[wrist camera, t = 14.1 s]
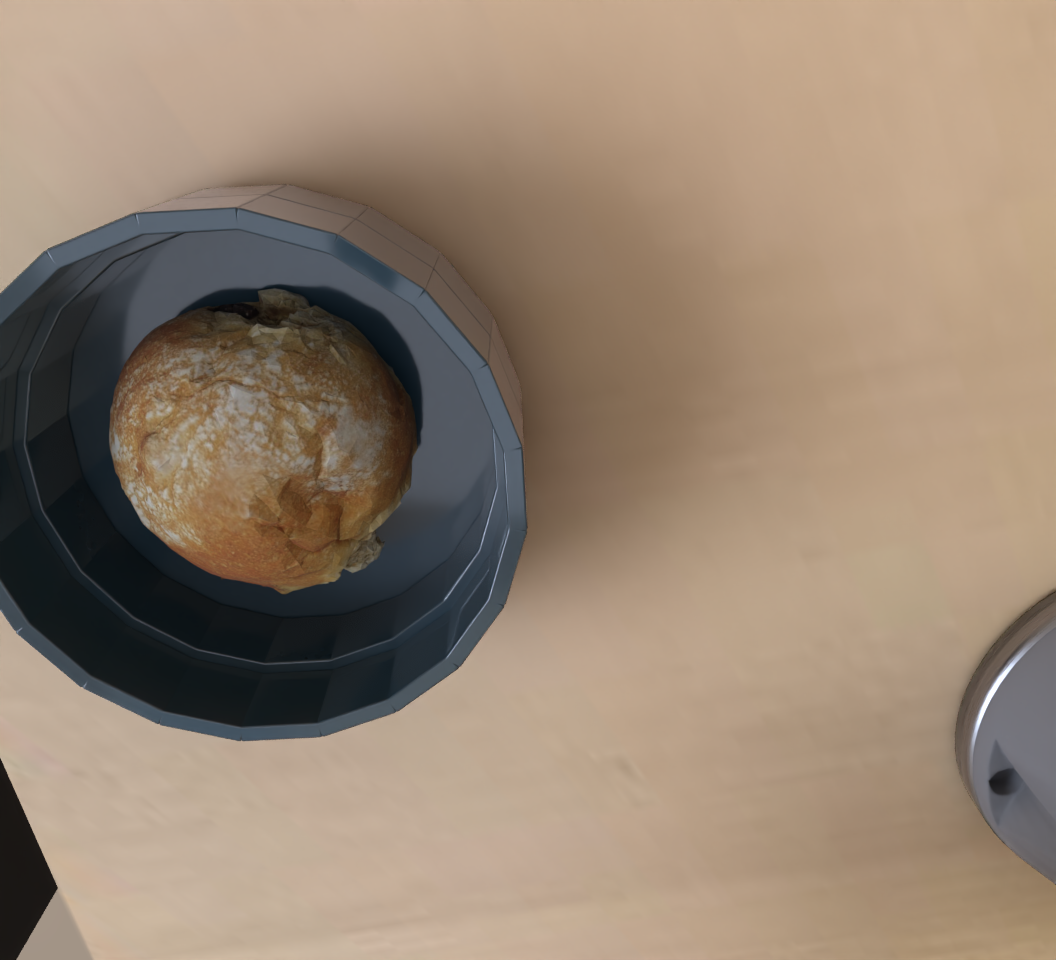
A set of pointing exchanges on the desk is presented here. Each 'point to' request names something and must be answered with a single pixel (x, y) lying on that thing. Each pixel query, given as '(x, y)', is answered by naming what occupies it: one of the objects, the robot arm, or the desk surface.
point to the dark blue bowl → (230, 605)
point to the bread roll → (263, 441)
